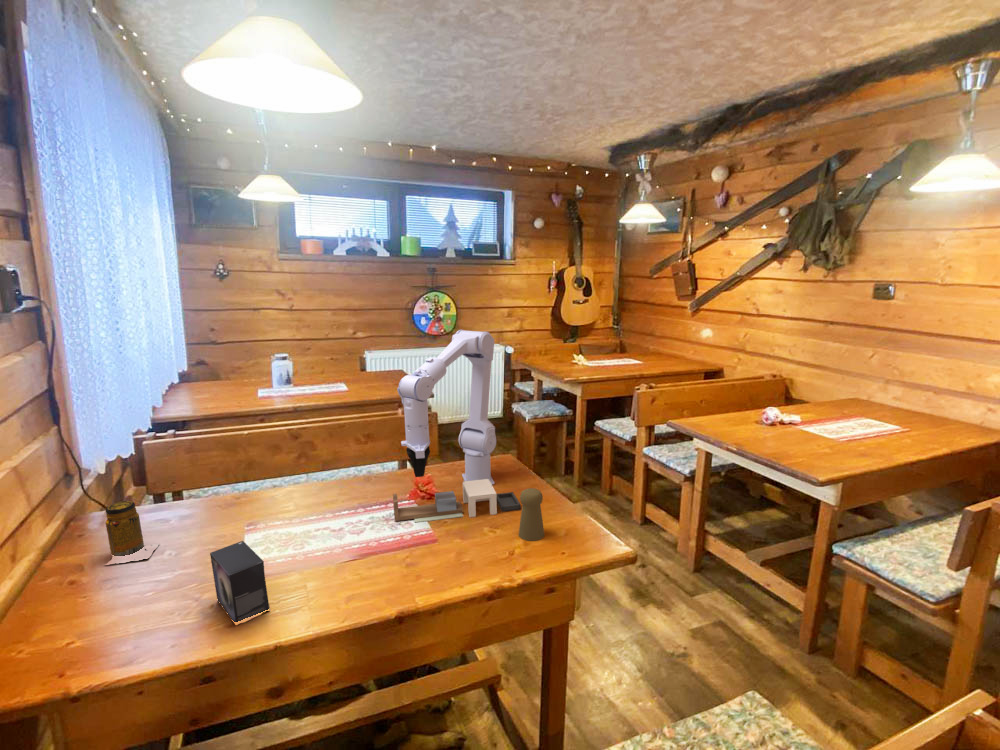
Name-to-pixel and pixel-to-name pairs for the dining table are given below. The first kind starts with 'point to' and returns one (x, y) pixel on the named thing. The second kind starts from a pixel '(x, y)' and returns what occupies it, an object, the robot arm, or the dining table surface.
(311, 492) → the dining table surface
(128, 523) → the condiment
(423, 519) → the mat
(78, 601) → the dining table surface
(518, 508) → the dark grey tray
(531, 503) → the olive brown pawn
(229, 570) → the small box
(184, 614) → the dining table surface
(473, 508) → the tunnel
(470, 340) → the robot arm
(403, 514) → the brown t-shaped bar
